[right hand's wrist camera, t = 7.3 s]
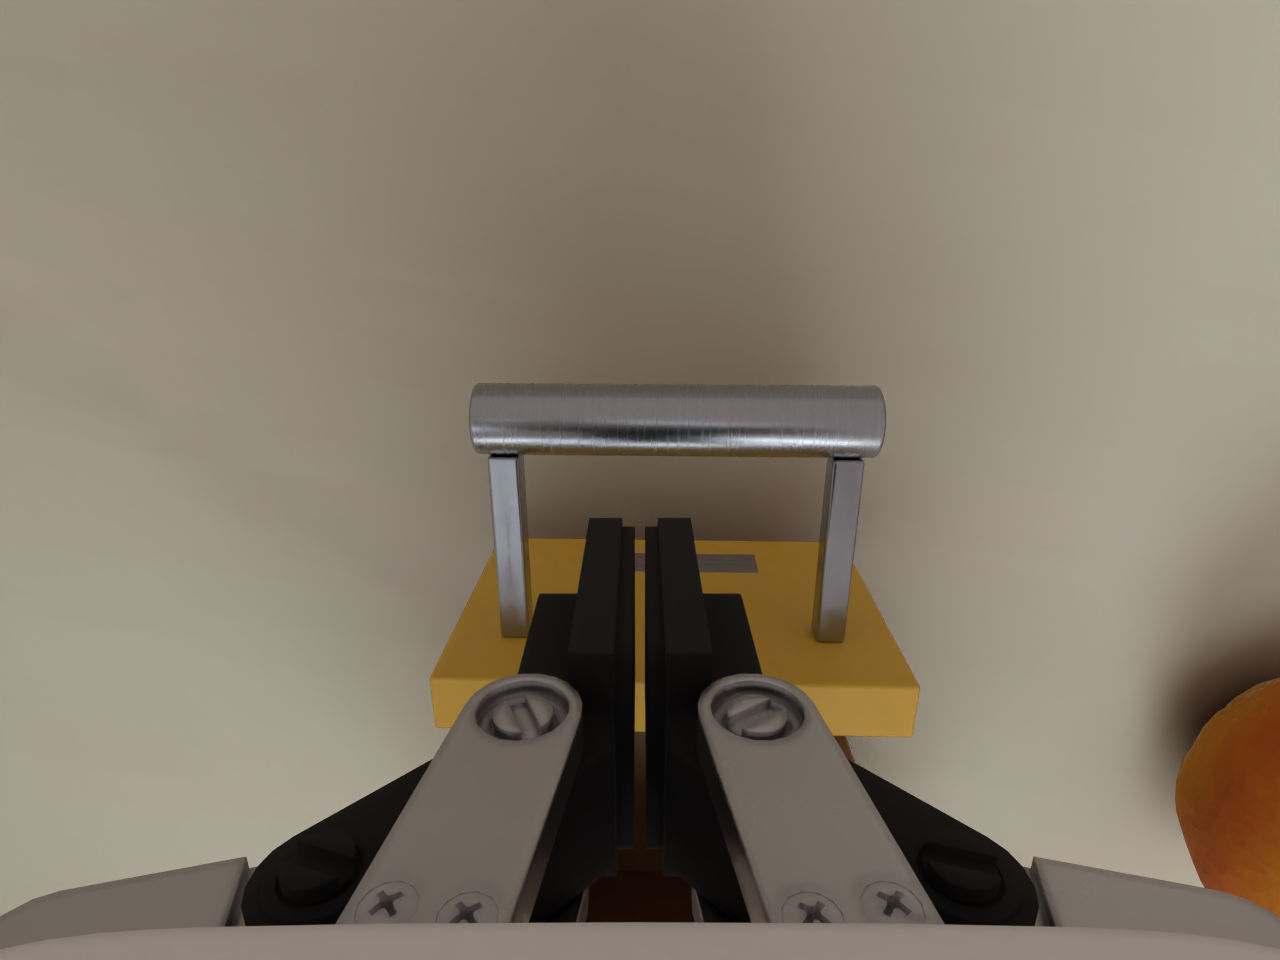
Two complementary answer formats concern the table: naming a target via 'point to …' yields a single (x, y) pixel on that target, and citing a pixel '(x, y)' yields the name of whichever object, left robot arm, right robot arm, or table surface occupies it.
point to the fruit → (1236, 798)
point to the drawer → (758, 570)
